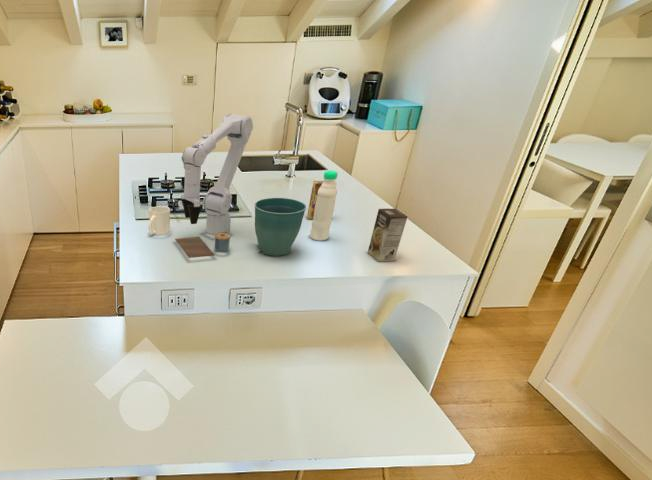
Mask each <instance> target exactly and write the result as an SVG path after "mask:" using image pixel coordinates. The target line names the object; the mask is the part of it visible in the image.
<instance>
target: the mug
mask: <svg viewBox="0 0 652 480" xmlns="http://www.w3.org/2000/svg"><path fill="white" fill-rule="evenodd" d="M148 211H149V213H148V214H149V217H148V219H149V221H148V232H149V234H150V235H151V236H152V235H156V236H163V235H168V234H169V233H171V208H170V207H168V206H164V205H159V206H157V205H156V206H152V207H150V208H149V209H148Z"/></svg>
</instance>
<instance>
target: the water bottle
mask: <svg viewBox="0 0 652 480" xmlns="http://www.w3.org/2000/svg"><path fill="white" fill-rule="evenodd" d="M337 178H338V172H337V171H336V170H326V171H324V172H323V181H324V182H323V183H322V185H321V187H320V188H319V190H318V193H317V194H318V196H317V200H316V204H315V210H314V218H313V219H312V222H311V228H310V232H309V237H310V239H312V240H315V241H326V240H328V238H329V235H330V228H331V224H332V219H333V214H334V211H335V206H336V205H335V204H336V200H337V198H336V197H337V195H338V188H337V183H336V184H335V182H336V180H337Z"/></svg>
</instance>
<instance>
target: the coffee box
mask: <svg viewBox="0 0 652 480" xmlns="http://www.w3.org/2000/svg"><path fill="white" fill-rule="evenodd" d="M407 220H408V216H407V215H406V214H404V213H403V212H401V211H400V210H398V209H396V208H378V210H377V214H376V218H375V222H374V226H373V230H372V234H371V238H370V241H369V246H368V250H367V253H368V254H369V255H370V256H372V257H373V259H375V260H376V261H377V262H395V259H396V257H397V253H398V250H399V247H400V243H401V240H402V237H403V233H404V230H405V227H406V223H407Z"/></svg>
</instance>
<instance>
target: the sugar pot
mask: <svg viewBox="0 0 652 480" xmlns="http://www.w3.org/2000/svg"><path fill="white" fill-rule="evenodd" d="M230 241H231V234H229V233H228V232H224V233H218V234H216V235H214V251H215V252H217V253H227V252H229V251H230Z"/></svg>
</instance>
